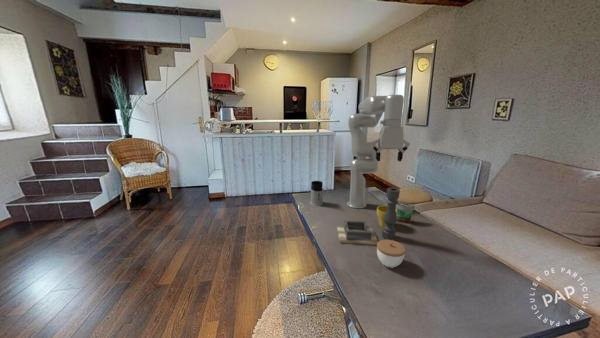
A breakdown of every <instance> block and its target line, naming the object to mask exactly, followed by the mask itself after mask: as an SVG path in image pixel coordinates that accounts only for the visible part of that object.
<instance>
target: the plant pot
mask: <svg viewBox="0 0 600 338" xmlns="http://www.w3.org/2000/svg"><path fill="white" fill-rule="evenodd" d="M386 211H387V205H379V206H377V207H376V215H377V217H378V218H377V219H378V225H379V226H380V227H381V228H383V227H384V226H385V222H384V216H385V213H386ZM396 216H397V210H396Z"/></svg>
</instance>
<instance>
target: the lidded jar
mask: <svg viewBox="0 0 600 338" xmlns="http://www.w3.org/2000/svg"><path fill="white" fill-rule="evenodd" d="M405 254H406V248H405V246H404V245H403V244H402V243H400V242H398V241H396V240H387V239H381V240H378V243H377V244H376V255H377V258H378V260H379V261H380V262H381V264H382V265H383V266H384V265H385V267H386V268H389V267H390V268H389V269H394V267H395V268H397V267H398V266H400V265H401V264H402V263H403V261H404V259H405Z"/></svg>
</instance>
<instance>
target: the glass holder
mask: <svg viewBox="0 0 600 338" xmlns="http://www.w3.org/2000/svg"><path fill="white" fill-rule="evenodd" d="M310 183H311V185H310V203H309V204H310V205H311V206H314V207H316V206H317V207H319V206H322V205H323V204H324V202H323V201H324V200H325V199H327V197H328V195H329V189H328V187H327V186H323V185H324V184H323V181H321V180H313V181H311V182H310ZM325 188H326V191H327V192H326V195H325V197H324V198H323V192H324V189H325Z"/></svg>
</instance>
